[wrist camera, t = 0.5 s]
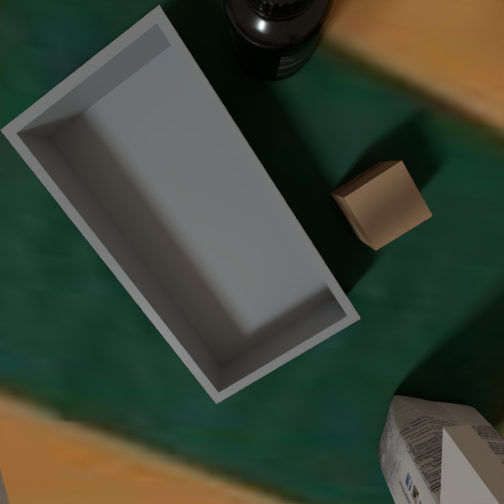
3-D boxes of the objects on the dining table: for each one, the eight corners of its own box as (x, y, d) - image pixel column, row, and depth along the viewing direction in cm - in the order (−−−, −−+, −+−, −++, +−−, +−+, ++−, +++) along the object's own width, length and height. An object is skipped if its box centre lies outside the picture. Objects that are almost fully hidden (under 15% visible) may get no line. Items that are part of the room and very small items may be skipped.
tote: (40, 135, 31) (0, 130, 26) (174, 32, 29) (159, 5, 24) (221, 372, 36) (216, 403, 32) (345, 297, 34) (360, 318, 30)
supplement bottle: (317, -8, 29) (361, -129, 17) (311, 84, 30) (347, 32, 18) (231, -12, 29) (216, -136, 17) (229, 81, 30) (214, 26, 18)
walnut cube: (330, 193, 32) (344, 197, 27) (378, 161, 32) (401, 160, 27) (357, 238, 33) (376, 250, 28) (405, 208, 33) (432, 215, 28)
